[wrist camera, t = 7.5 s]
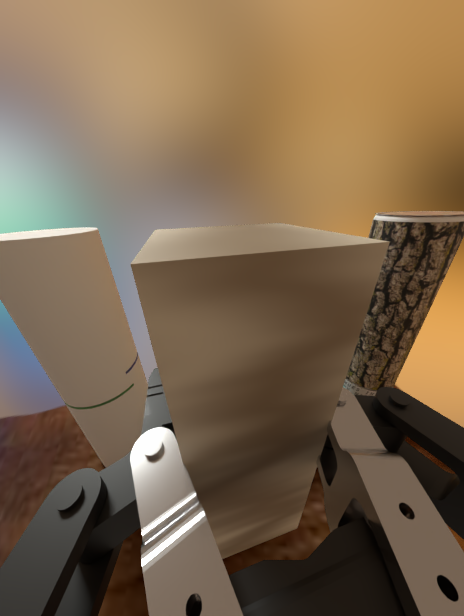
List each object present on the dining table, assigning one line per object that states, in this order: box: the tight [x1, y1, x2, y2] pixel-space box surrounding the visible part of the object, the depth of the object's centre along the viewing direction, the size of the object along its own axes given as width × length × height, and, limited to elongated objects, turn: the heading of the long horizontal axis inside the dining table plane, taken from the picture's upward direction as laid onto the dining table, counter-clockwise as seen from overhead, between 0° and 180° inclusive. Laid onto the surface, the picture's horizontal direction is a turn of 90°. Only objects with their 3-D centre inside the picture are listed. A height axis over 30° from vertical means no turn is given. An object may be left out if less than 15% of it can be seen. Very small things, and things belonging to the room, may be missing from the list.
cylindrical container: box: [0, 228, 148, 468], centre depth 20 cm, size 7×7×25 cm
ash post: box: [131, 223, 390, 559], centre depth 8 cm, size 4×4×14 cm
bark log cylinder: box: [344, 211, 464, 396], centre depth 24 cm, size 7×7×25 cm
